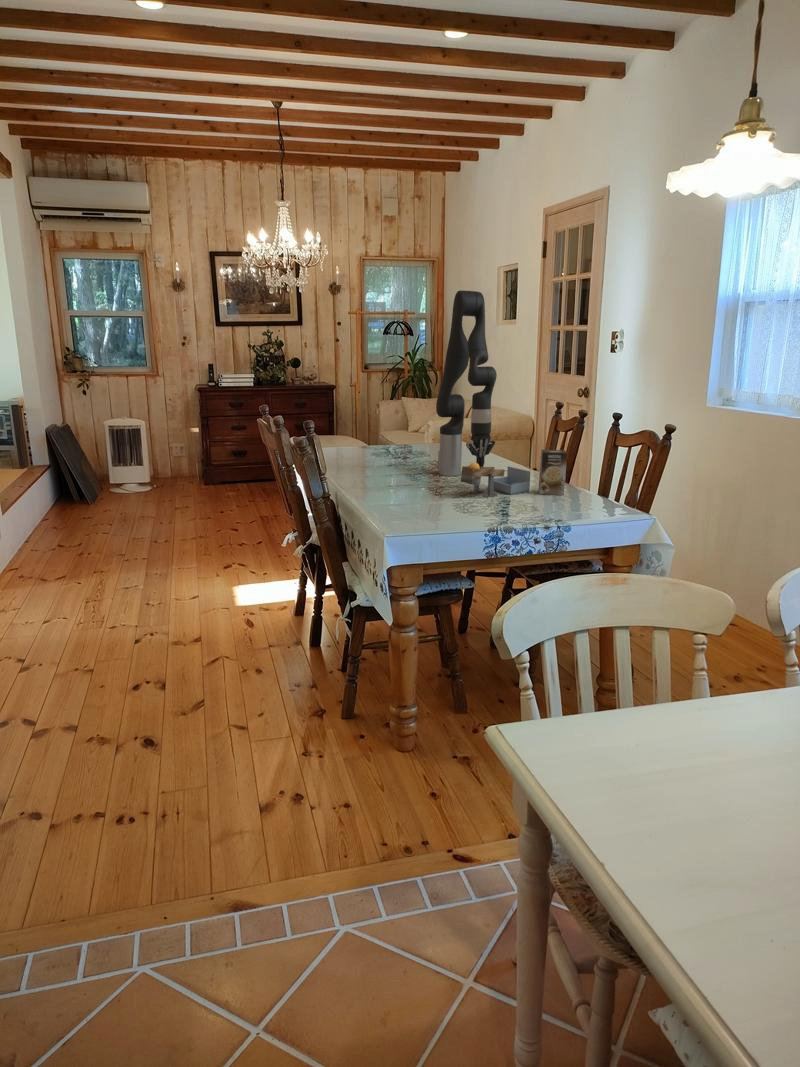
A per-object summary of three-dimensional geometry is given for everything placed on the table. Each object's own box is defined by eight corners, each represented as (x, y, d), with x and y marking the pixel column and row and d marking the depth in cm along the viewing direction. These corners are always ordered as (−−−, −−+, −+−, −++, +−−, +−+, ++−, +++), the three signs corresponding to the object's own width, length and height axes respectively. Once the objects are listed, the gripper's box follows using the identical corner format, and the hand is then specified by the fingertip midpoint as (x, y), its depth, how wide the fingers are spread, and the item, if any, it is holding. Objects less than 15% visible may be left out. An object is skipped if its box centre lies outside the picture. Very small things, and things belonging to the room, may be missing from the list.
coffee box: (539, 494, 277) (541, 452, 273) (538, 491, 283) (540, 449, 279) (564, 495, 276) (567, 452, 272) (562, 491, 283) (565, 449, 278)
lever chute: (471, 484, 269) (473, 469, 268) (446, 477, 281) (447, 462, 280) (502, 484, 277) (504, 469, 276) (477, 477, 290) (478, 463, 288)
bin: (510, 495, 277) (511, 473, 275) (489, 489, 287) (490, 468, 285) (529, 492, 282) (530, 471, 280) (508, 486, 292) (508, 466, 289)
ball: (464, 470, 273) (468, 460, 272) (472, 473, 275) (476, 463, 275) (471, 472, 269) (475, 461, 269) (479, 475, 272) (483, 465, 272)
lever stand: (487, 498, 272) (488, 474, 269) (469, 492, 280) (469, 470, 278) (497, 496, 274) (498, 473, 272) (479, 491, 283) (480, 468, 281)
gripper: (488, 418, 286) (487, 463, 291) (461, 421, 279) (460, 466, 284) (501, 420, 280) (499, 466, 285) (473, 423, 273) (472, 469, 278)
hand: (480, 466), depth 284 cm, fingers closed
